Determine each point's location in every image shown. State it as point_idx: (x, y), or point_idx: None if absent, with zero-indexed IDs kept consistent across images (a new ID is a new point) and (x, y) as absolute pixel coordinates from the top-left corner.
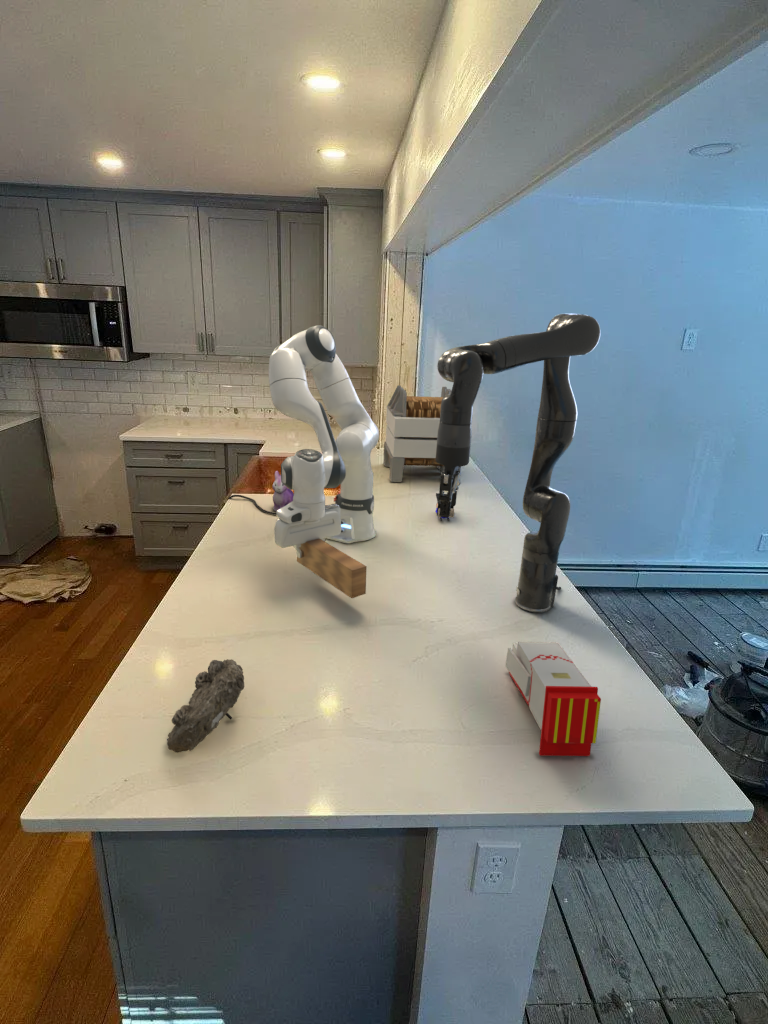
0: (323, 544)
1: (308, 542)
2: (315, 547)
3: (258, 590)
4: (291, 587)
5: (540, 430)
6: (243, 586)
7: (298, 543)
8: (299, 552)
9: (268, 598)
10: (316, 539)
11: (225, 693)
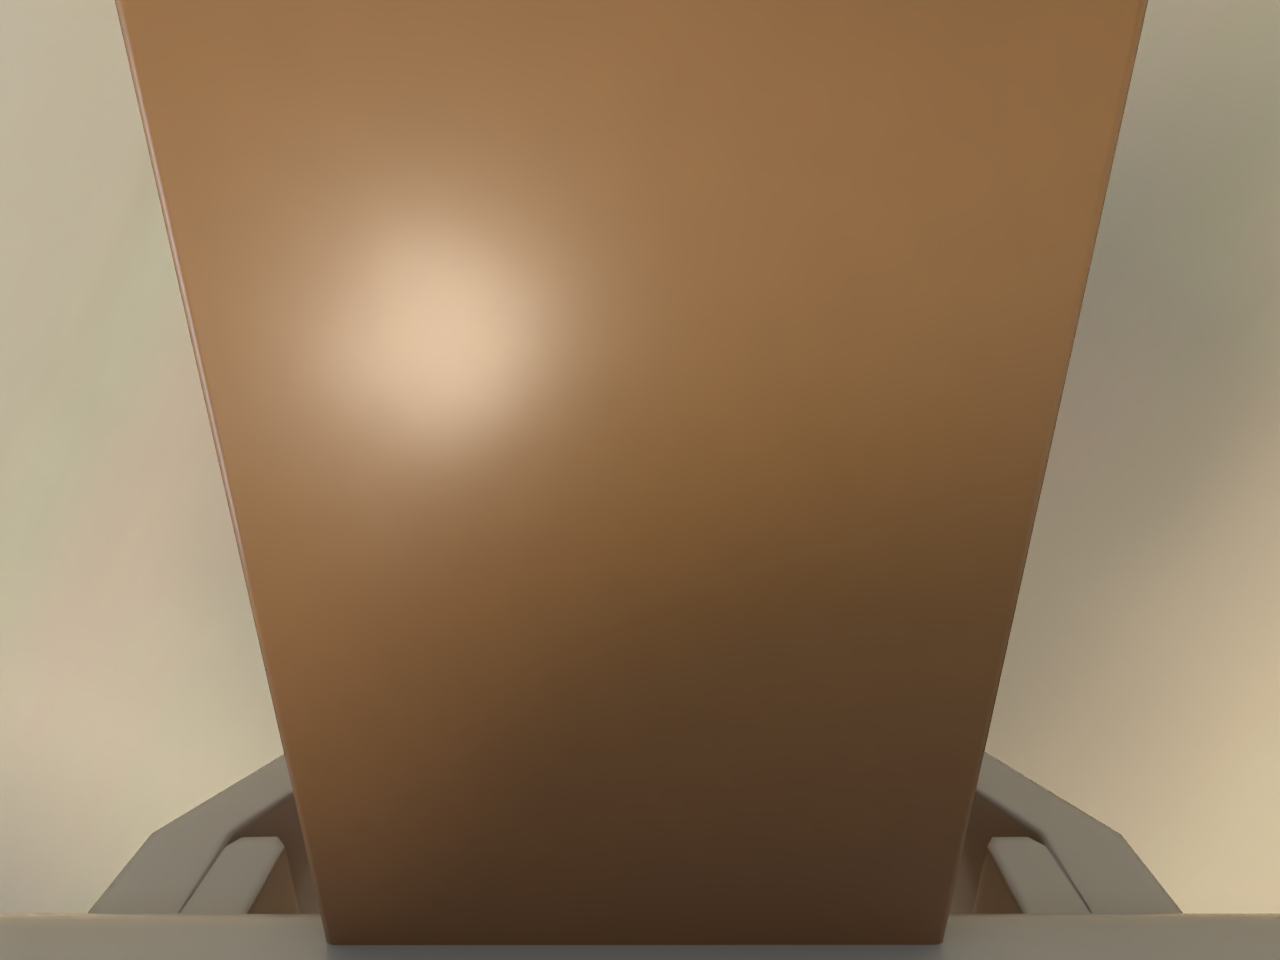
0: (468, 342)
1: (908, 855)
2: (1083, 217)
3: (1209, 568)
4: None
5: None
6: (1246, 706)
7: (1268, 946)
8: None
9: (1271, 357)
10: (476, 920)
11: None
